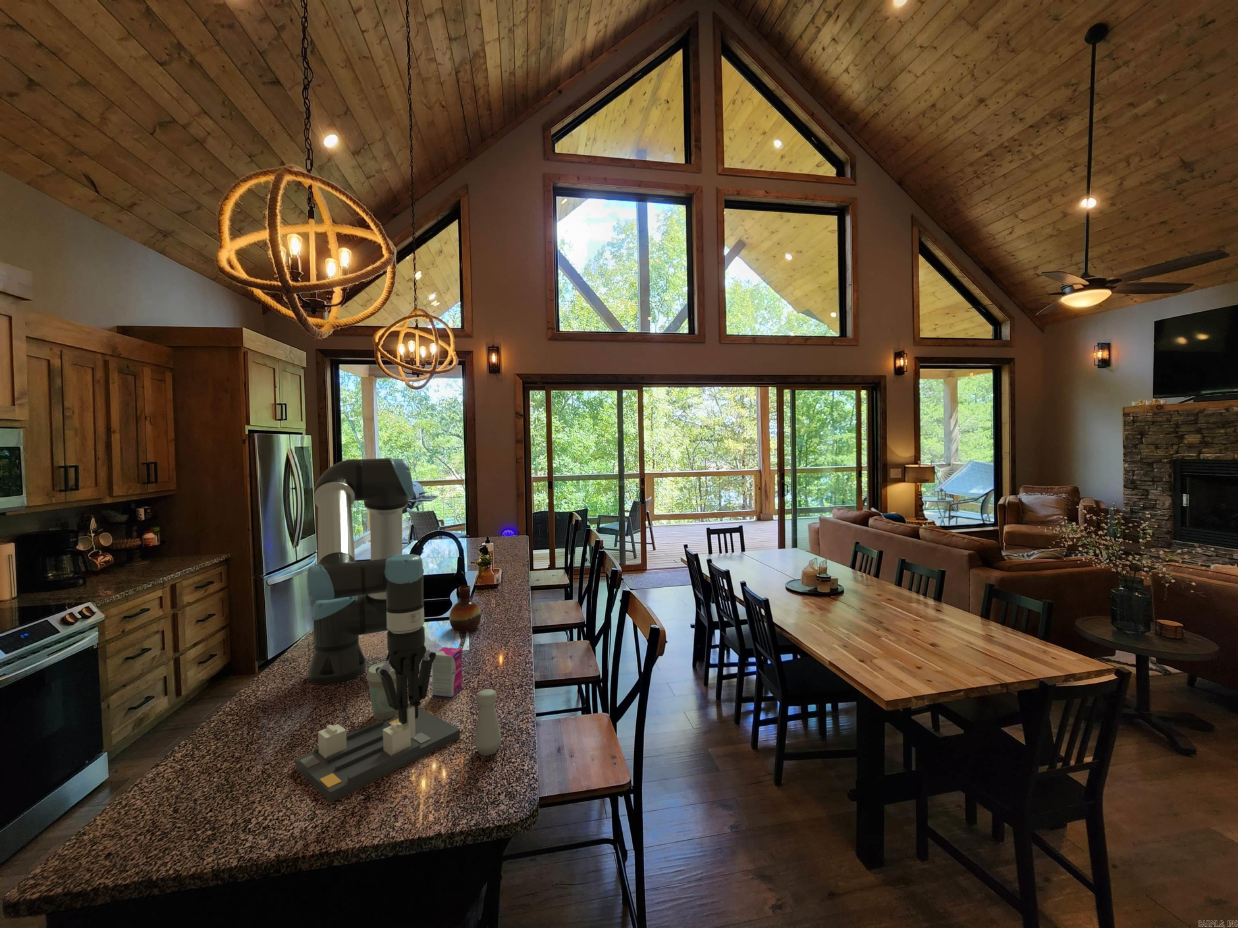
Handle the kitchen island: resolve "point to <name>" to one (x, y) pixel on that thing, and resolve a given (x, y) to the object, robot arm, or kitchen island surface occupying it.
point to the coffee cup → (380, 694)
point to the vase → (465, 612)
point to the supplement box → (447, 672)
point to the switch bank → (372, 755)
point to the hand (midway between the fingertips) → (409, 735)
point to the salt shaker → (487, 723)
